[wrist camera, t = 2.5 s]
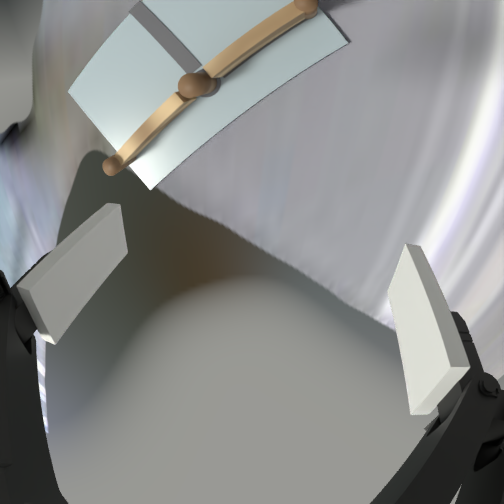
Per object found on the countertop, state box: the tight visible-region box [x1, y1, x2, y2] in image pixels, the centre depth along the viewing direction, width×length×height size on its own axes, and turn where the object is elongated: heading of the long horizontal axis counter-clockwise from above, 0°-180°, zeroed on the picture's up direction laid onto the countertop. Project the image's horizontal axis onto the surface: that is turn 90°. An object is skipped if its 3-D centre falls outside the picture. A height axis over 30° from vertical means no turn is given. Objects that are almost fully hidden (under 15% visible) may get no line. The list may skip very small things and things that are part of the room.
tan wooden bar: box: [103, 91, 197, 176], centre depth 30 cm, size 12×2×4 cm, turn 128°
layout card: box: [68, 0, 348, 190], centre depth 27 cm, size 18×28×1 cm, turn 128°
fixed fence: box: [178, 0, 318, 98], centre depth 23 cm, size 2×15×5 cm, turn 128°
